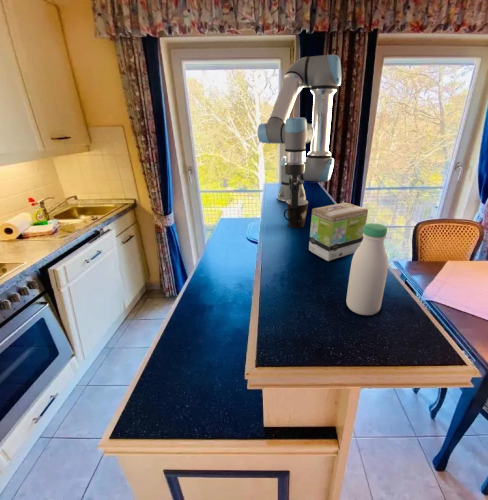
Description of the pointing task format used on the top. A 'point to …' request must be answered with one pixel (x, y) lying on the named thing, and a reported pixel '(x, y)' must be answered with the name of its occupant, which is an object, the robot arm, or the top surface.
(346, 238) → the tea box
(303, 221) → the coffee mug
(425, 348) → the top surface
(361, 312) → the milk bottle
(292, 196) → the robot arm
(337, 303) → the top surface
